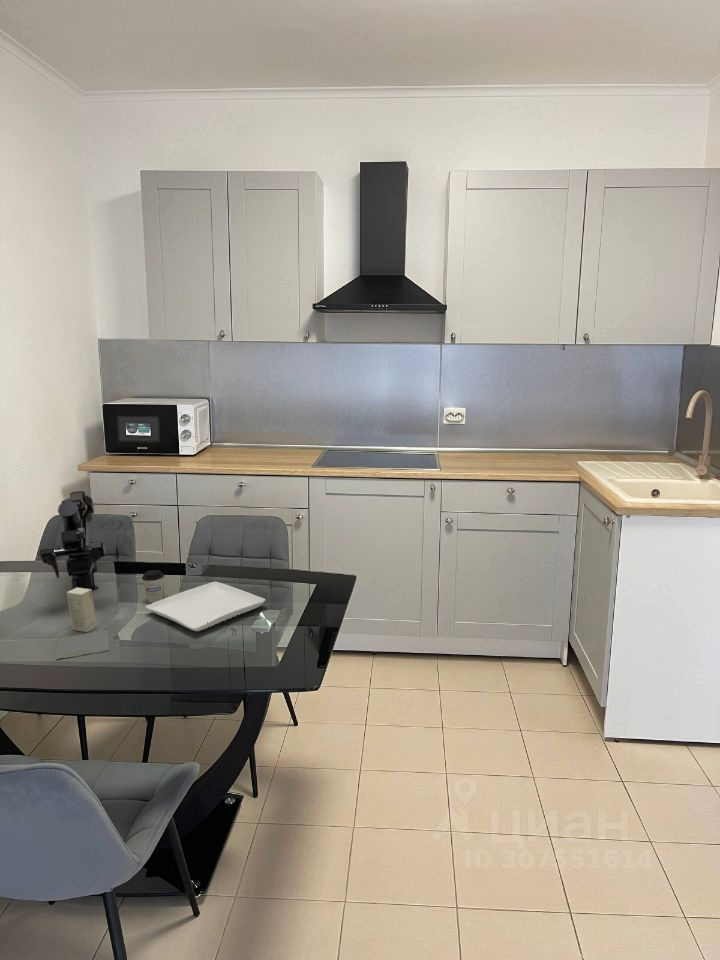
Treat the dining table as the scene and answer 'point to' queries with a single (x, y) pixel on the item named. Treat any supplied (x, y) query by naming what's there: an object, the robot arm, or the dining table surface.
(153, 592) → the coffee cup
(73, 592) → the skincare box
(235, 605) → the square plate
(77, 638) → the mat
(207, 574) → the dining table surface
